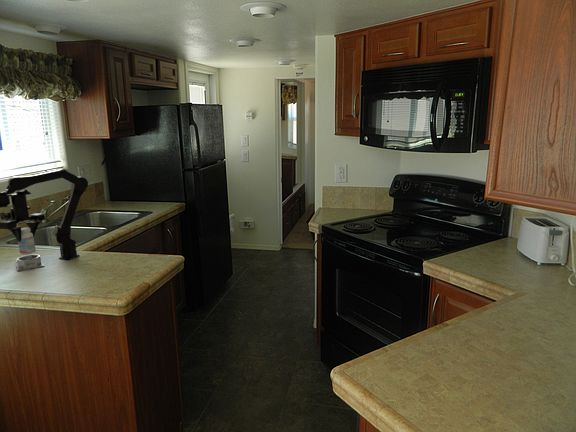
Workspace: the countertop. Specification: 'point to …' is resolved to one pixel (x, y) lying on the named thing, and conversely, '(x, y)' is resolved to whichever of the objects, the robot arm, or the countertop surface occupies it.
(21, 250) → the pill bottle
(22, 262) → the grey open tray
